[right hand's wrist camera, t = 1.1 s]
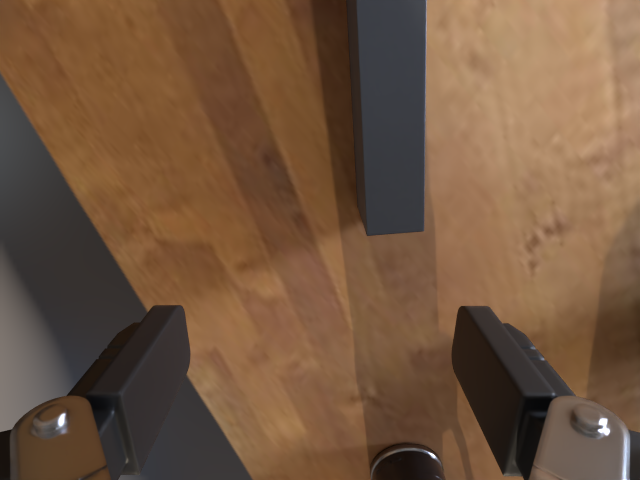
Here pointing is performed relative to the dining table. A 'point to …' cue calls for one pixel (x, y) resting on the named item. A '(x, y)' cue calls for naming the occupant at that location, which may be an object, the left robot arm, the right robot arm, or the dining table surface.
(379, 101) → the bar
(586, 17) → the dining table surface
